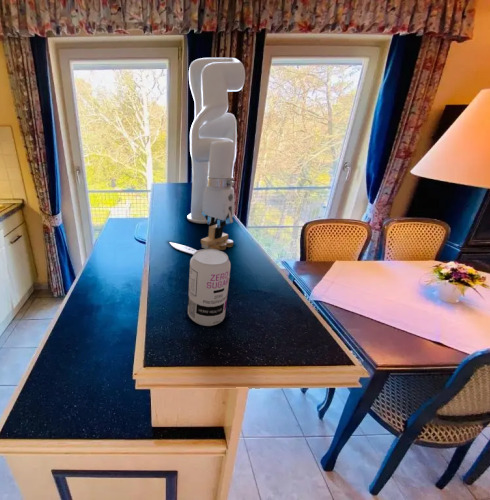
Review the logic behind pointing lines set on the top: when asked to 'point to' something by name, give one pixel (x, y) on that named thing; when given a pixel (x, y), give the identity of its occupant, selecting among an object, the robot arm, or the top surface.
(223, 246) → the crumb middle
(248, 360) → the top surface
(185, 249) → the knife
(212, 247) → the crumb
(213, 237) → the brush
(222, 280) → the supplement can
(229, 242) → the crumb
